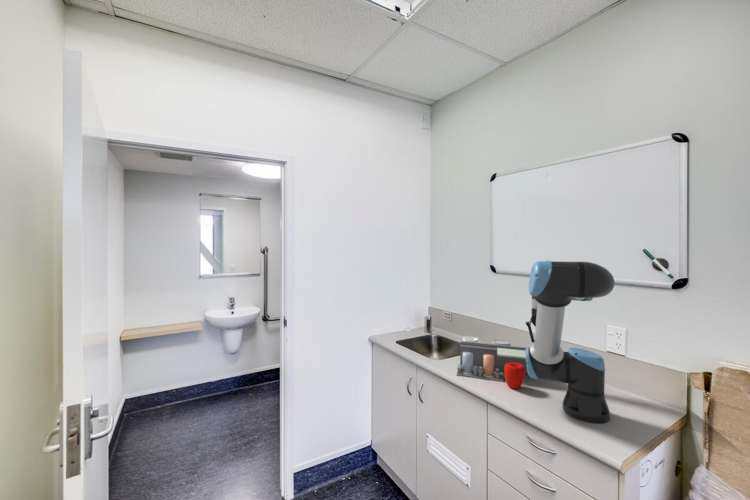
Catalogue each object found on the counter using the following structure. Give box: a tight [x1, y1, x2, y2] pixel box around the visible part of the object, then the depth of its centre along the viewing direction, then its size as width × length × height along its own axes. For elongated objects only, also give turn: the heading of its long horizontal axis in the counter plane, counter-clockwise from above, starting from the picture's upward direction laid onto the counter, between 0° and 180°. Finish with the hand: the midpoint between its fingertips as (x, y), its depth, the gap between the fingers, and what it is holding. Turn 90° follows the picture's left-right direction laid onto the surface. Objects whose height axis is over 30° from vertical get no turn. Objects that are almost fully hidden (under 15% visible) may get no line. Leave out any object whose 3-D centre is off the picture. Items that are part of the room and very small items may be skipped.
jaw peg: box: [483, 354, 494, 376], centre depth 159 cm, size 5×5×9 cm
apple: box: [503, 362, 526, 390], centre depth 146 cm, size 9×9×11 cm
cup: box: [462, 336, 483, 343], centre depth 189 cm, size 8×12×10 cm
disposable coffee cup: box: [491, 339, 512, 346], centre depth 176 cm, size 10×10×12 cm
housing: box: [456, 340, 529, 382], centre depth 160 cm, size 17×39×12 cm, turn 70°
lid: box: [497, 348, 526, 359], centre depth 157 cm, size 11×18×2 cm, turn 70°
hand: (540, 358), depth 152 cm, fingers closed
